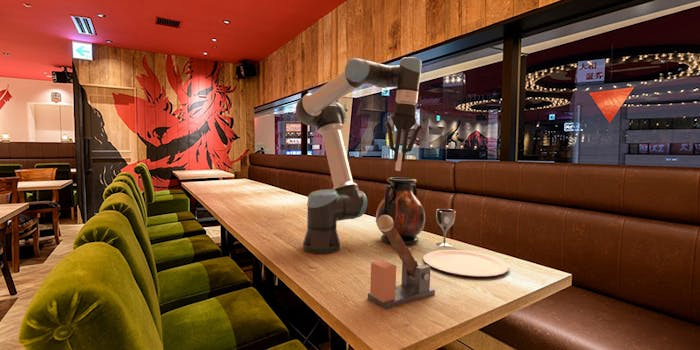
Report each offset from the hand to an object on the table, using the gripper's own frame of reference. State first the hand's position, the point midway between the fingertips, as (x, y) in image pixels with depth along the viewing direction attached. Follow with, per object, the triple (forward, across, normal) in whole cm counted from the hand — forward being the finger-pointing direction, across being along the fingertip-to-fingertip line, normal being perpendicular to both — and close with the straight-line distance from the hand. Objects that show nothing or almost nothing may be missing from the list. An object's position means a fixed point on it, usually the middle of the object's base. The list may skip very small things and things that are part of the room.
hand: (397, 170), depth 128 cm
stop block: (+31, -6, -36) cm, 48 cm away
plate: (+32, +28, -4) cm, 42 cm away
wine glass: (+32, +28, +22) cm, 48 cm away
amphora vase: (+34, +9, +26) cm, 44 cm away
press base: (+32, 0, -32) cm, 46 cm away
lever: (+26, +4, -30) cm, 39 cm away
